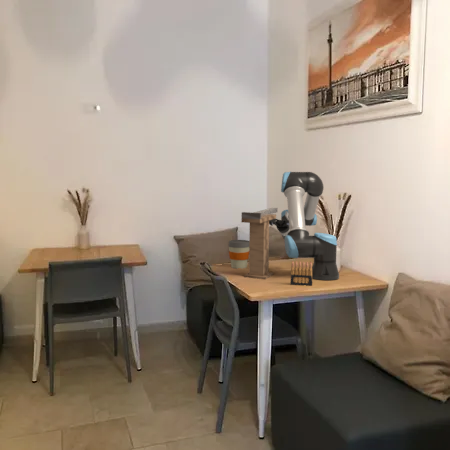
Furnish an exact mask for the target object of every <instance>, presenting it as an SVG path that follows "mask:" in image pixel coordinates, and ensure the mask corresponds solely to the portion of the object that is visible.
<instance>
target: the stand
mask: <svg viewBox="0 0 450 450" xmlns="http://www.w3.org/2000/svg"><path fill="white" fill-rule="evenodd" d="M272 219H277V214H276V213H273V214H269V215H266V216H262V217H261V213H253V212H250V211H249V212H245V211H242V212H241V221H240V222H241V223H248V224H249V240H248V241H249V259H248V260H249V261H248V263H249V264H248V272H247V273H246V274H244V275H243V277H244V278H250V279H259V280H260V279H261V280H267V279H268V278H271V277H272V276H273V275H274V272H269V264H270V263H269V260H270V259H269V258H270V257H269V255H270V251H269V250H270V248H269V247H270V245H269V243H270V242H269V241H270V224H269V220H272Z"/></svg>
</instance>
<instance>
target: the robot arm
mask: <svg viewBox="0 0 450 450" xmlns="http://www.w3.org/2000/svg"><path fill="white" fill-rule="evenodd" d="M280 192H281V193H283V194H284V195H283V196H285V198H286V201H287V209H283V210H282V211H281V213H280V219H278V218H275V219H272V220H269V226H271V227H272V226H276V229H277V231H278V232H279V233H280V235H281V236H282V238H283V240H284V248H285V249H284V250H285V253H286V255H287V256H288V257H289V258H293V259H298V258H299V259H301V258H302V259H303V258H304V259H310V258H311V259H313V264H312V280H313V279H314V280H319V281H334V280H338V279H340V273H339V270H338V265H337V250H338V249H337V247H338V241H337V236H335V235H332V234H329V233H326V232H325V233H322V232H314V234H313V235H310V233H309V231H308V230H307V229H306V226H309V227H311V226H316V225H317V221H318V216H317V214H316V210H317V207H318V204H319V200H320V197H321V196H322V194H323V193H324V183H323V180H322V178H321V177H320V176H319V175H318V174H316V173H315V172H312V171H285V172H284V173H283V174H282V179H281V185H280ZM305 193H306V196H305V202H304V198H303V197H304V195H305Z"/></svg>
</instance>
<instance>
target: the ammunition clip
mask: <svg viewBox="0 0 450 450" xmlns="http://www.w3.org/2000/svg"><path fill="white" fill-rule="evenodd" d="M312 266H313V264H312V261H310V262H308V261H306V263H305V261H302V262H301V261H299V262H298V261H297V260H296V261H295V262H294V260H292V261H291V267H290V268H291V269H290V283H289V284H290V286H304V285H306V287H312V286H313V278H312Z"/></svg>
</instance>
